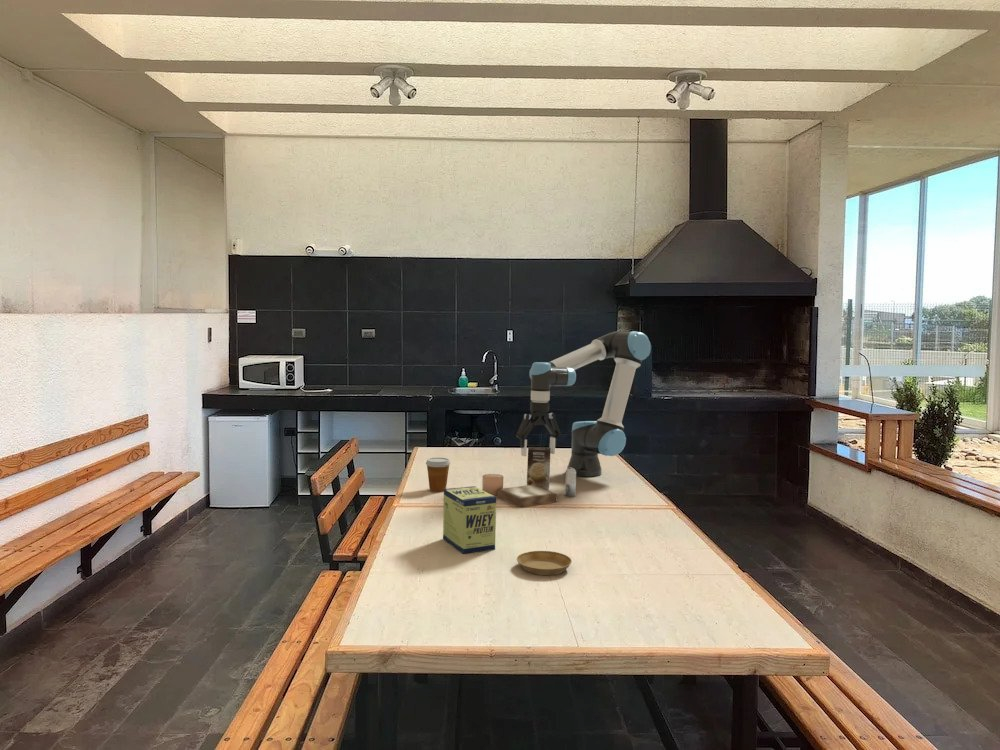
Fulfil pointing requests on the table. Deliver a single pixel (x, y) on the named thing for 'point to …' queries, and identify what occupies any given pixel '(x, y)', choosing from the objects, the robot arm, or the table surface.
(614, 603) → the table surface
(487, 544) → the protein box
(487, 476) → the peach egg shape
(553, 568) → the plant saucer
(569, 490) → the salt shaker
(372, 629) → the table surface
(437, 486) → the disposable coffee cup
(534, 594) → the table surface
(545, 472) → the coffee box
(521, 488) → the picture frame
